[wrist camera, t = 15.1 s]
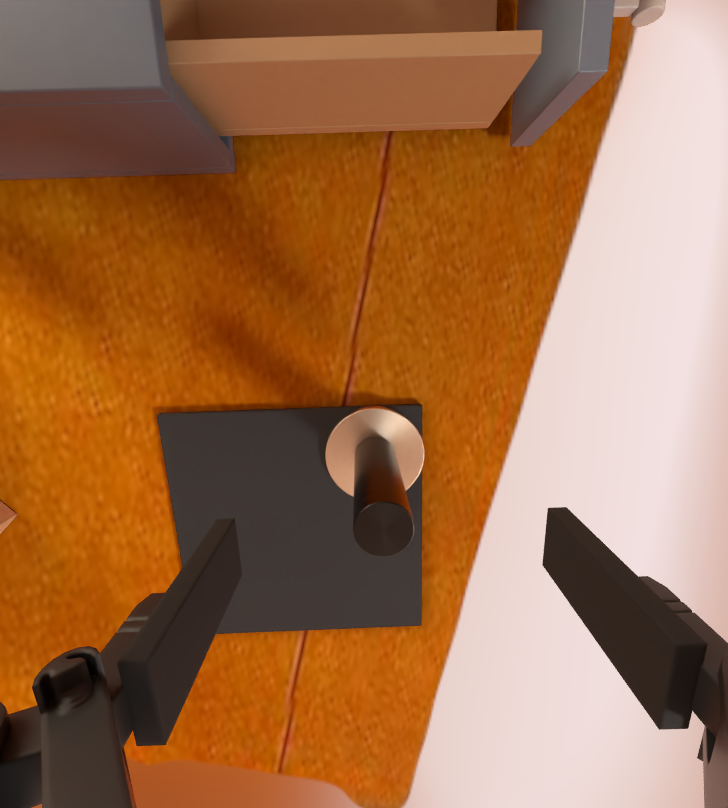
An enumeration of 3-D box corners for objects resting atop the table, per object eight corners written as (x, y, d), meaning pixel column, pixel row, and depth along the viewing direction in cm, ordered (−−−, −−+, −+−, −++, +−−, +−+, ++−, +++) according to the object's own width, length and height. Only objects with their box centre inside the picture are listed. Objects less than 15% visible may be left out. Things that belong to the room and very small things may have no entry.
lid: (423, 404, 26) (461, 456, 16) (423, 495, 27) (457, 591, 18) (323, 407, 26) (303, 462, 16) (328, 499, 27) (313, 596, 18)
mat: (421, 403, 26) (422, 405, 26) (420, 620, 30) (421, 625, 30) (160, 413, 26) (156, 414, 25) (196, 629, 30) (193, 635, 30)
